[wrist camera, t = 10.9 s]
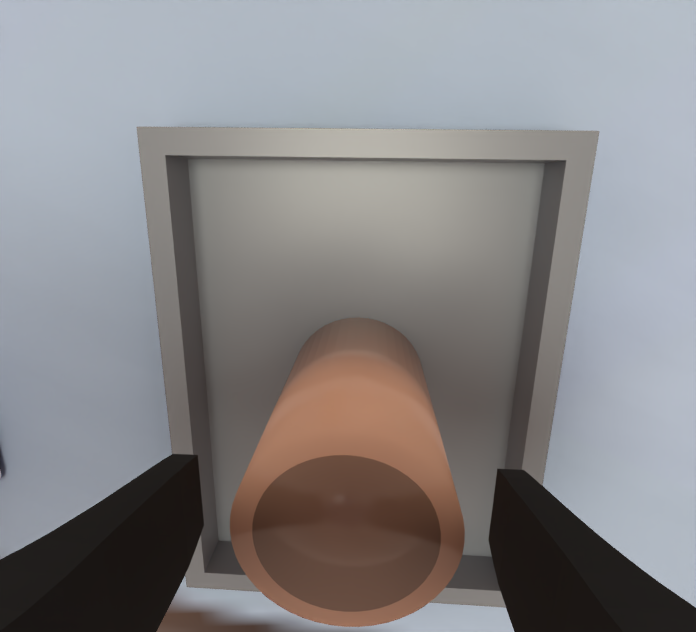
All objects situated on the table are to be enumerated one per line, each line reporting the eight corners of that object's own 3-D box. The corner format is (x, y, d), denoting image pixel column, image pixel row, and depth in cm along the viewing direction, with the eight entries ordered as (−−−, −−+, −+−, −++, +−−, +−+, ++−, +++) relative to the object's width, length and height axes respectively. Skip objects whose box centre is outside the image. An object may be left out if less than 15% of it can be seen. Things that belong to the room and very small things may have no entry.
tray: (208, 540, 21) (186, 587, 18) (172, 136, 16) (136, 126, 13) (504, 558, 20) (522, 608, 18) (563, 139, 15) (599, 131, 13)
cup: (294, 434, 18) (235, 622, 10) (291, 315, 17) (220, 429, 9) (419, 439, 18) (455, 635, 10) (427, 319, 16) (476, 439, 9)
